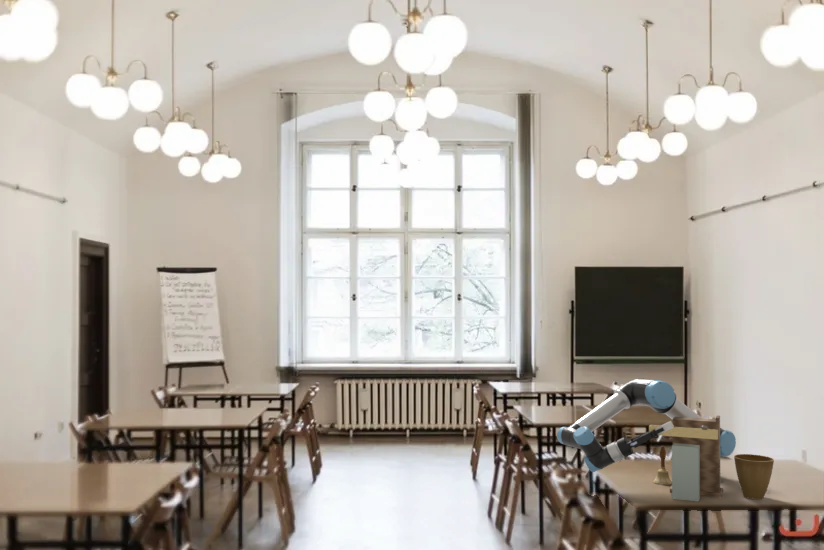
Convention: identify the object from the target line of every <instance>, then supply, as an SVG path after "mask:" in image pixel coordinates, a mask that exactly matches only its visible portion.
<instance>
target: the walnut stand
mask: <svg viewBox="0 0 824 550" xmlns="http://www.w3.org/2000/svg"><path fill="white" fill-rule="evenodd" d="M672 424H673V425H674V427H688V428H701V426H707V429H717V430H718V439H717V440H715V439H702V438H689V437H676V436H672V445H673V444H674V443H678V444H692V445H700V496H701V497H702V496H703V497H713V498H723V494H724V487H721V456H720V428H721V416H720V415H716V417H715V418H704V417H702V418H690V417H674V418H673V420H672ZM671 492H672V485H670V488H669V493H671Z"/></svg>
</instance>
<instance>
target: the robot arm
mask: <svg viewBox="0 0 824 550" xmlns="http://www.w3.org/2000/svg"><path fill="white" fill-rule="evenodd" d="M637 405H641V406H646V407H649V408H650V409H652V411H654V412H656V413H657V414H658V415H659V414H660V415H666V416H667V417H668V418H670V419H671V420H669V421H667V422H665V423H663V424H661V425H660V427H658V428H656V429H655V430H656V431H655V430H653V431H651V432H649V430H648V431H646V432H644V433H642V434H638V435H637V436H633V437H631V438H629V439H630V440H628V439H627V438H626V437H625V436H624V437H623V436H622V437H621V438H619V439H617V441H613V442H610V443H608V444H607V445H605V446H602V444H601V443H600V442H599V440H598V439H597V437H596V436H595V435H594V433H593V432H594V431H595V430H597V429H598V428H600V427H601V426H602V425H603V424H605V423H606V422H608V421H609V420H611V419H612V418H613V417H615V416H616V415H617V414H620V412H622V411H623V410H624V409H625V410H628V409H630V408H631V407H634V406H637ZM674 417H690V418H703V417H702V416H700V415H699V414H698V413H696V412H695V411H694V410H692V409H691V408H690V407H688V406H687V405H686V404H685V403H683V402H682V401H681V400H680V399H678V396H677V394H676V392H675V389H674V387H673V386H672V385H671V384H670V383H669V382H667V381H664V380H661V379H650V378H649V379H648V378H641V377H638V378H635V379H632V380H630V381H628V382H626V383H624V384H623V385H621V386H619V387H618V388H617V389H615V390H614V391H613V395H611V396H609V397H608V398H606V400H604V401H602V403H600V404H599V405H597V406H596V407H594V408H592V410H591V411H589V412H587V413H586V414H584V415H583V416H582V417H581V418H579V419H578V420H576V421H575V422H573V423H572V424H570V425H569V426H562V427H560V428H559V429H558V430H557V431H556V438H557V441H558V442H559V443H560V444H562V445H564V446H566V447H567V446H568V447H570V448H571V447H573V448H575V449H580V450H582V452H583V453H584V454H585V456H583V457H584V458H583V460H584V463H585V465H586V467H587V469H588V470H590V472H598V471H600V470H603V469H604V468H606V467H608V466H610V465H612V464H615V463H616V462H618V463H620V462H621V460H623V459H624V458H627V457H630V456H631V455H633V454H634V449H636V448H638V447H639V446H641V445H643V444H644V443H646V442H648V441H649V440H652V439H653V438H659V437H660V436H661V435H660V434H662V433H664V432H666V431H668V430H670V429H672V428H673V427H672V426H674V425H673V418H674ZM657 434H658V435H657ZM736 440H737V439H736V436H735V433H733V431H730V430H728V429H726V430H725V429H723V428H721V427H720V457H724V458H725V457H726V458H727V457H729V456H730V455H732V454H733V452H734V451H735V450H736V449H735V448H736V445H737V444H736V443H737V441H736ZM633 448H634V449H633Z"/></svg>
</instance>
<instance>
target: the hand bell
mask: <svg viewBox="0 0 824 550" xmlns="http://www.w3.org/2000/svg"><path fill="white" fill-rule="evenodd" d="M659 449H660V450H659V458H660V468H659V469H658V470H657V474H656V476H655V479H653V481H652V483H653V484H655V483H656V485H660V484H663V486H671V485H672V479H671V477H670V474H669V470H667V469H666V464H665V461H666V455H667V453H666V448H665V446H664V445H661V446H660V448H659ZM670 484H671V485H670Z"/></svg>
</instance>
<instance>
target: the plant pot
mask: <svg viewBox="0 0 824 550" xmlns="http://www.w3.org/2000/svg"><path fill="white" fill-rule="evenodd" d="M733 459H734V464H735V471H736V476H737V479H738V483H739V487H740V488H741V492H742V495H743V496H744V498H747V499H752V500H762V498H763V499H764V497H765V496H766V493H767V490H768V488H769V485H770V481H771V477H772V474H773V468H774V464H775V463H774V462H775V458H773V457H769V456H766V455H760V454H753V453H749V454H748V453H746V454H745V453H740V454H735V455H734V457H733Z"/></svg>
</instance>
